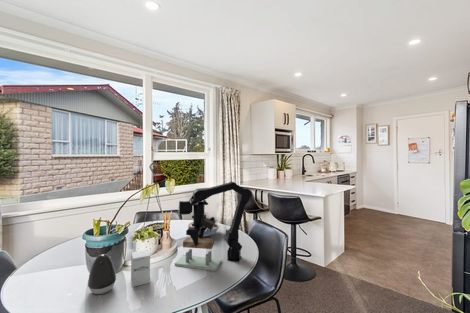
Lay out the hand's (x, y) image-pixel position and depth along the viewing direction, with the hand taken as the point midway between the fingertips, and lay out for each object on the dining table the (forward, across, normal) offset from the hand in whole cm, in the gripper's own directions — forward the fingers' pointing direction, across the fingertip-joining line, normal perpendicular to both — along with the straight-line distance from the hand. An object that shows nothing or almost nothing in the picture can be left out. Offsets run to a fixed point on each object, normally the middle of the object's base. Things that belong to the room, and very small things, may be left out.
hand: (198, 243), depth 122 cm
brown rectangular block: (+1, 0, 0) cm, 1 cm away
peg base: (+11, 0, 0) cm, 11 cm away
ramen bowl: (+11, +39, +12) cm, 42 cm away
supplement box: (+11, -22, +19) cm, 31 cm away
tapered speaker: (+11, -32, +30) cm, 45 cm away
